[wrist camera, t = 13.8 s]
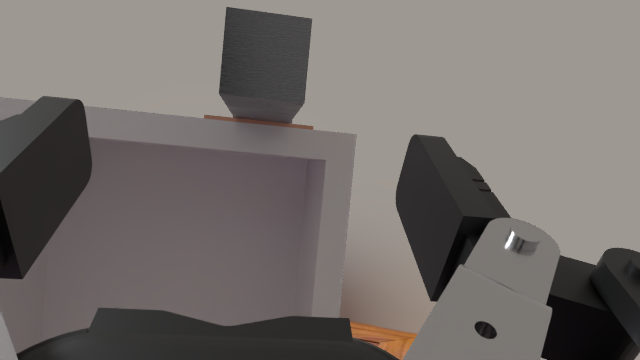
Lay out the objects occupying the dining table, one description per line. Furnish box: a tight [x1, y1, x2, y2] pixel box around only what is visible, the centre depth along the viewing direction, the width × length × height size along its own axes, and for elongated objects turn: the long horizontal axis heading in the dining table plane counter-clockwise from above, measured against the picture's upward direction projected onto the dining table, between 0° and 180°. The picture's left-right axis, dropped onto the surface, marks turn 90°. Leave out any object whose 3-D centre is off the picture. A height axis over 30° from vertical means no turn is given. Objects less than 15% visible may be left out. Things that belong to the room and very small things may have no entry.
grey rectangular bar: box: [219, 7, 312, 124], centre depth 26 cm, size 20×4×4 cm, turn 7°
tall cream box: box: [0, 97, 356, 354], centre depth 31 cm, size 12×22×32 cm, turn 97°
